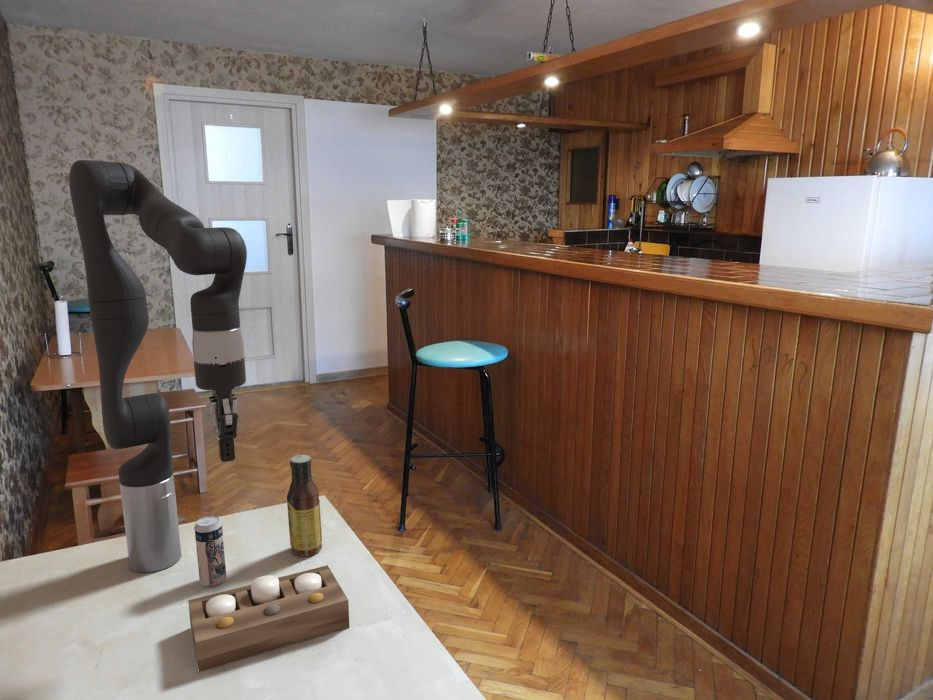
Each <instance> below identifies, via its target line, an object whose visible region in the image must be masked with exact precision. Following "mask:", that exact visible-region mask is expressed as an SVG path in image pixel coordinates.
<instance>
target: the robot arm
mask: <svg viewBox="0 0 933 700" xmlns="http://www.w3.org/2000/svg"><path fill="white" fill-rule="evenodd" d="M68 176H69V177H68V186H69V192H70V193H69V194H70V199H71V203H72V209H73V213H74V217H75V223H76V226H77V231H78V236H79V241H80V245H81V251H82V255H83V263H84V270H85V279H86V287H87V297H88V300H87V301H88V306H89V312H90V313H89V314H90V321H91V327H92V331H93V339H94V343H95V344H94V346H95V350H96V358H97V364H98V373H99V388H100V400H101V401H100V402H101V403H100V404H101V417H102V418H101V419H102V428H103V433H104V437H105V440H106V442H107V444H108V446H109V447H110V448H111V449H113V450H123V449H124V450H125V449H128V448H133V447H140V446H144V445H146V447H144V449H143V450H141V451H140V452H139V453H138V454H136V455H134V456H132V457H130V459H128V460H126V461H125V462H123V463H122V464H121V465H120V466H119V469H118V472H117V473H118V481H119V489H120V497H121V498H120V499H121V507H122V514H123V515H122V516H123V522H124V531H125V537H126V539H125V540H126V547H127V557H128V563H129V568H130V569H131V570H133V572H139V573H152V572H158V571H160V570H161V571H162V570H164V569H166V568H170V567H171V566H173V565H175V564H176V563H178V561H180V559H181V558H182V549H181V548H182V547H181V538H180V537H181V535H180V526H179V517H178V508H177V497H176V489H175V488H176V487H175V479H174V477H175V476H174V469H173V453H172V452H173V451H172V434H171V432H172V431H171V430H172V429H171V413H170V408H169V405H168V401H167V400H166V398H165V396H163V394H161V393H158V392H152V393H146V394H145V393H144V394H140V395H133V396H127V397H123V390H124V381H125V378H126V374H127V371H128V368H129V366H130V364H131V362H132V360H133V358H134V356H135V355H136V352H137V351H138V350H139V348H140V346H141V344H142V342H143V339H144V338H145V336H146V334H147V331H148V328H149V325H150V317H149V309H148V308H149V307H148V301H147V293H146V289H145V286H144V284H143V283H142V281H141V279H140V278H139V276H138V275H137V274H136V273H135V272H134V270H133V269H132V268H131V267H130V265H129V264H128V263H127V261H126V260H125V259H124V258H123V256H122V255H121V254H120V253H119V252H118V250H117V248H116V247H115V246H114V244H113V242H112V240H111V237H110V235H109V232H108V229H107V226H106V220H105V216H127V215H135V216H138V223H139V225H140V228H141V230H142V231H143V233H144V235H146V236H147V237H148V238H149V239H150V240H152V241H153V242H154V243H156V244H157V245H159V246H161V247H162V248H163V249H165V250H166V252H167V253H168V255H169V256H170V258H171V259H172V261H173V263H174V265H175V266H176V268H177V269H178V270H179V271H180V272H183V273H184V274H187V275H191V276H206V275H214V278H213V281H212V283H211V285H210V286H208V287H206V288H204V289H200V290H198V291H196V292H194V293H193V294H192V295H191V296H190V300H189V301H190V304H189V305H190V314H191V327H192V328H191V329H192V338H191V339H192V343H191V344H192V346H191V347H192V356H193V357H192V359H193V367H194V380H195V386H196V387H197V388H198V389H200V390H203V391H209V392H210V391H211V394H212V395H209V396H207V399H208V400H207V401H208V406H209V407H210V413H211V414H210V415H211V421H212V423H213V427H214V428H213V429H215V431H216V432H215V436H216V438H217V442H218V453H219V459H220V461H221V462H222V463H225V462H232V461H234V460H235V459H236V452H235V442H234V441H235V440H234V439H236V438H237V436H238V433H237V429H238V418H239V415H238V414H237V410H238V407H239V406H238V397H237V396H235V393H233V391H232V390H233V389H235V388H240V387H242V386H243V385H245V383H246V382H247V376H246V375H247V374H246V363H245V361H246V360H245V349H244V338H243V335H242V329H241V320H240V305H239V303H240V301H239V300H240V296H241V291H242V286H243V285H242V284H243V280H244V274H245V270H246V265H247V257H248V252H247V251H248V250H247V246H246V243H245V240H244V238H243V237H242V235H241V234H240V233H239V232H238V231H237V230H236V229H234V228H232V227H224V226H223V227H205V225H204V223H203V222H202V220H200V219H199V218H198V217H197V215H195V214H193V213H192V212H190V211H189V210H187V209H186V208H183V206H180V205H178V204H176V203H175V202H173V201H171V200H170V199H169V198H168V197H166V196H165V194H164V193H162V192H161V191H160V190H159V189H158V188H157V187H156V185H154V183H153V182H152V181H150V179H149V178H148V177H146V176H145V174H143V173H142V172H141V171H140V170H139V169H138V168H136V167H135V166H133V165H131V164H129V163H125V162H122V161H121V162H119V161H105V160H104V161H103V160H91V159H90V160H89V159H88V160H87V159H80V160H76V161H75V162H73V163H72V165H71V167H70V170H69V174H68Z"/></svg>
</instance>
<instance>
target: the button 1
mask: <svg viewBox="0 0 933 700" xmlns="http://www.w3.org/2000/svg"><path fill="white" fill-rule="evenodd" d="M233 611H236V603H235V598H234V597H233V596H231V595H219V596H215V597H213V598H211V599H210V600H209V601H208V602H207V603H206V612H207V618H210V617H214V616H218V615H222V614H225V613H229V612H233Z"/></svg>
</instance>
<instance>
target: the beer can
mask: <svg viewBox="0 0 933 700" xmlns="http://www.w3.org/2000/svg"><path fill="white" fill-rule="evenodd" d="M193 530H194V537H195V545H196V554H197V555H196V556H197V567H198V576H199V581H198V582H199V584H200V585H202V586H203V587H204V586H205V587H210V588H211V587H215V586H219V585H221V584H222V583H224V582H225V581H226V580H227V578H228V575H227V569H226V557H225V556H226V555H225V546H224V534H223V533H224V532H223V531H224V530H223V522H222V520H221V519H220V518H219V517H217V516H216V515H215V516H214V515H212V516H211V515H209V516H205V517H201V518H199V519H198V520H197V521H196V522H195V524H194V528H193Z"/></svg>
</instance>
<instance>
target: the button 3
mask: <svg viewBox="0 0 933 700" xmlns="http://www.w3.org/2000/svg"><path fill="white" fill-rule="evenodd" d="M319 588H322V583H321V576H320V575H319V574H316V573H306V574H302V575H300V576H298V577H297V578H296V579H295V593H296V595H297V594H301V593H304V592H308V591H312V590H316V589H319Z"/></svg>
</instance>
